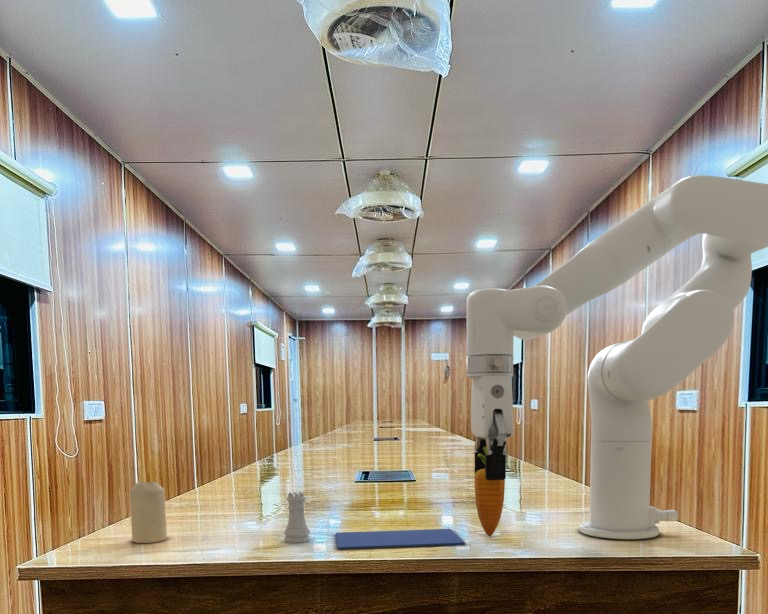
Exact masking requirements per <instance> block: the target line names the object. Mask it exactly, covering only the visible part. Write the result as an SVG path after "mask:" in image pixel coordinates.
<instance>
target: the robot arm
mask: <svg viewBox="0 0 768 614" xmlns="http://www.w3.org/2000/svg"><path fill="white" fill-rule="evenodd" d="M699 234H702V238H701V239H702V241H701V244H702V245H701V246H702V261H701V266H700V268H698V271H696V273H695V274H693V275H692V276H691V277H690V279H688V280H687V281H686V282H685V283H684V284H683V285H681V287H679V288H678V289H676V290H675V292H673V293H672V294H671V295H670V296H669V297H667V298H666V299H665V300H664V301H662V302H661V303H659V305H657V306H656V307H654V308H653V309H652V311H650V312H649V314H648V316H647V317H646V318H645V319H644V322H643V325H642V327H641V334H640V335H638V336H637V337H636V338H634V339H629V340H623V341H621V342H616V343H613V344H611V345H608V346H605V347H604V348H602V349H601V350H600V351H598V352H597V354H596V355H595V356H594V358H593V359H592V361H591V363H590V365H589V368H588V371H587V372H588V373H587V390H588V396H589V406H590V430H591V431H590V460H589V463H590V465H589V467H590V468H589V469H590V470H589V511H588V512H589V520H588V521H587V520H586V521H584V522H582V523H580V524H579V531H580V532H581V534H583V535H584V534H585V535H587V536H591V537H596V538H601V539H612V540H645V539H651V538H655V537H657V536H659V534H660V527H659V526H657V525H658V524H659V523H660V522H666V523H667V522H677V521H678V520H679V513H678V511H677V510H676V509H664V510H662V509H658V508H657V507H655V506H651V505H650V504H651V472H652V470H651V467H652V440H653V423H652V422H653V421H652V413H651V407H650V403H649V401H653V400H655V399H658V398H660V397H663V396H665V395H666V394H668V393H669V392H670V391H672V390H673V389H675V388H676V387H677V386H678V385H679V384H681V383H682V382H683V381H684V380H685V379H687V378H688V377H689V376H690V375H691V374H693V373H694V372H695V371H696V370H697V369H698V368H700V367H701V366H702V365H703V364H704V363H705V362H707V361H708V360H709V359H710V358H711V357H712V356H714V354H716V353H717V352H718V351H719V350H720V349H721V348H722V347H723V346H724V345H725V343H726V342H727V340H728V339H729V338H730V336H731V333H732V331H733V328H734V323H735V322H734V321H735V315H734V314H735V313H734V310H735V309H736V308H737V307H738V306H739V305H740V304H741V303H742V302H743V301H744V299H745V298H746V297H747V295H748V293H749V290H750V288H751V282H752V273H753V262H752V254H753V253H756V252H759V251H761V250H763V249H766V248H768V183H763V182H757V181H750V180H744V179H743V180H742V179H737V178H729V177H723V176H715V175H703V174H701V175H690V176H687V177H684V178H681V179H679V180H678V181H676V182H674V184H672V185H670V186H669V187H667V188H666V189H665V190H664V191H662V192H660V193H659V194H658V195H656V196H654V197H653V198H651V199H650V200H649V201H647V202H646V203H645V204H643V205H642V206H640V207H639V208H637V209H636V210H634V211H633V212H631V213H630V214H629V215H627V216H626V217H625V218H623V219H621V220H620V221H619V222H617V223H616V224H615V225H613V226H612V227H610V228H609V229H607V230H606V231H605V232H602V234H600V235H598V236H597V237H596V238H594V239H593V240H592V241H590V242H589V243H588V244H586V245H585V246H584V247H583V248H581V249H580V250H579V251H578V252H576V253H575V254H574V255H573V256H572V257H570V259H569V260H568V261H566V262H564V264H562V265H561V266H560V267H558V268H557V269H555V270H554V271H553V272H552V273H550V274H549V275H547V276H546V277H544V278H543V279H541V280H540V281H539V282H538V283H536V284H534V285H533V286H529V287H523V288H522V287H521V288H514V289H513V288H512V289H506V288H482V289H481V288H480V289H477V290H474V291H471V292H470V293H469V294H468V296H467V299H466V378H467V379H472V380H471V389H470V390H471V391H470V392H471V397H470V398H471V401H470V426H471V427H470V428H471V433H472V435H473V436H474V474H475V473H476V472H477V471H478V470H480V469H485V478H486V480H505V481H506V478H507V440H506V439H507V438H508V439H509V438H512V437H513V435H514V430H515V427H514V401H513V400H514V399H513V389H512V388H513V387H512V380H511V378H512V377H514V337H515V338H517V339H519V340H525V341H526V340H528V341H529V340H533V339H536V338H539V337H541V336H545V335H547V334H549V333H552V332H554V331H555V330H556V329H558V328H559V327H560V326H561V325H562V324H563V322H564V321H565V319H566V317H567V316H568V315H570V314H571V313H572V312H575V310H577V309H579V308H581V307H582V306H583V305H585V304H587V303H589V302H591V301H593V300H595V299H597V298H600V297H601V296H604V295H606V294H608V293H610V292H611V291H613V290H615V289H617V288H618V287H620V286H622V285H624V284H625V283H627V282H628V281H629V280H631V279H632V278H633V277H635V276H636V275H638V274H639V273H641V272H642V271H644V270H645V269H646V268H648V267H649V266H650V265H652V264H653V263H655V262H656V261H658V260H659V259H661V258H662V257H663V256H665V255H666V254H668V253H669V252H671V251H672V250H674V249H676V247H678V246H679V245H680V244H682V243H684V242H685V241H687V240H689V239H690V238H693V237H695V236H697V235H699ZM484 447H487V453H488V455H485V452H484V449H483V448H484ZM478 454H482V455H484V456H485V464H484V463H483V461H482V460H481V458H480V457H478ZM656 524H657V525H656Z"/></svg>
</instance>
